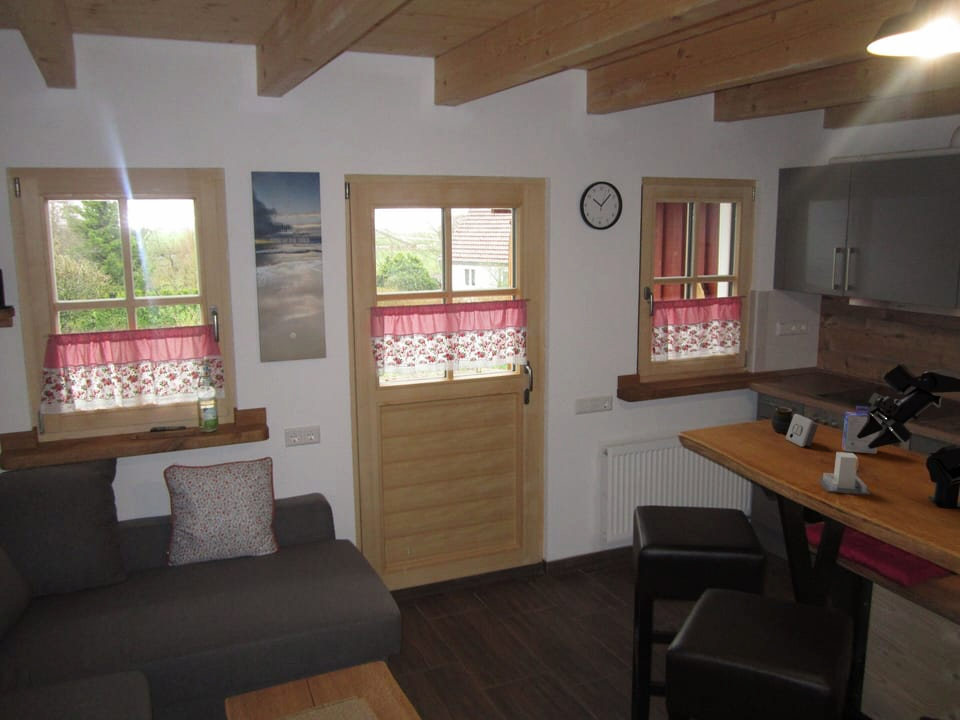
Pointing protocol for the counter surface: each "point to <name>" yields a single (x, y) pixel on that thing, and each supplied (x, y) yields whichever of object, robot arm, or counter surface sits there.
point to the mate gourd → (782, 419)
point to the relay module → (845, 470)
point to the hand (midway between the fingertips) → (863, 442)
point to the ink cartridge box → (851, 430)
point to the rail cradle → (832, 488)
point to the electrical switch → (801, 431)
